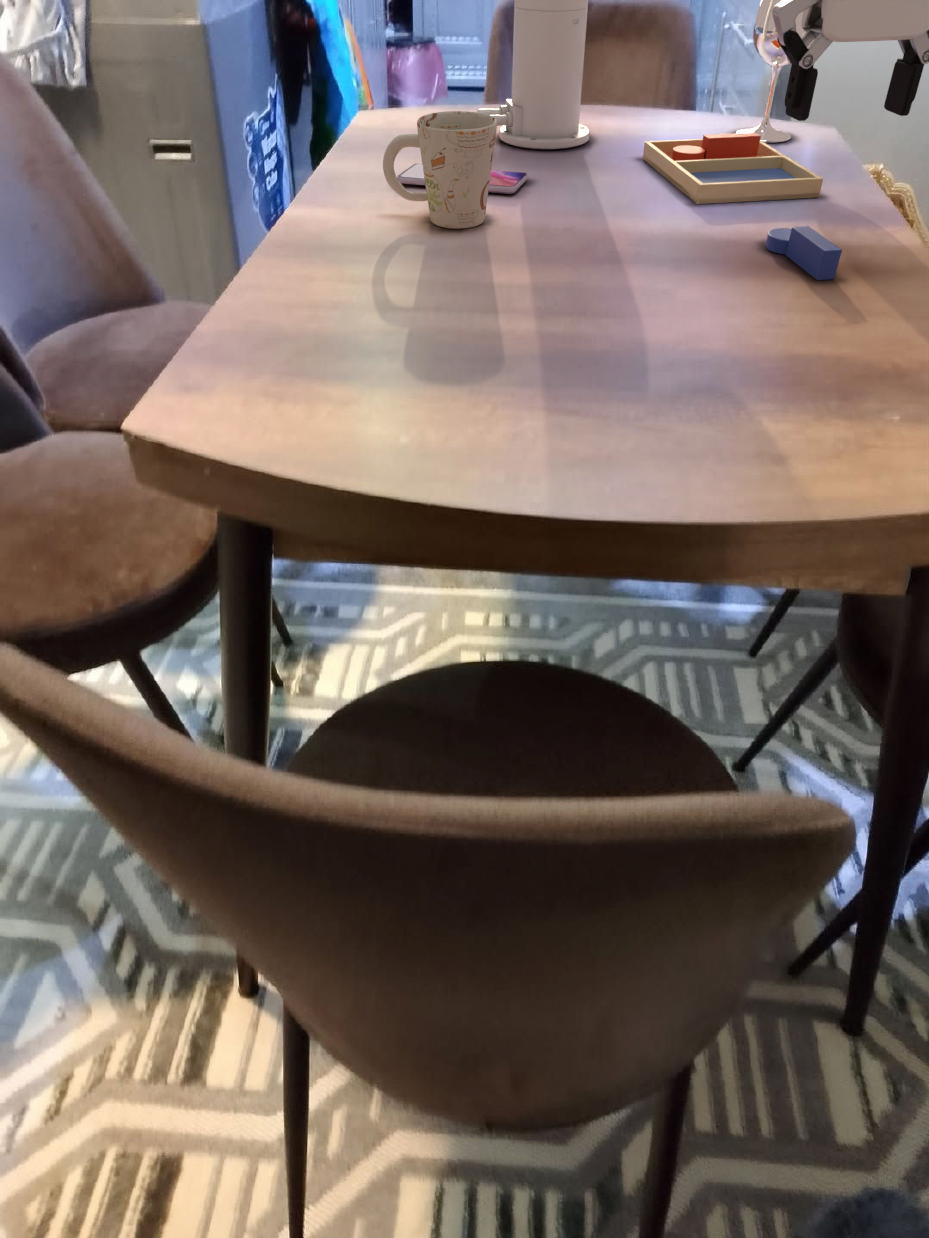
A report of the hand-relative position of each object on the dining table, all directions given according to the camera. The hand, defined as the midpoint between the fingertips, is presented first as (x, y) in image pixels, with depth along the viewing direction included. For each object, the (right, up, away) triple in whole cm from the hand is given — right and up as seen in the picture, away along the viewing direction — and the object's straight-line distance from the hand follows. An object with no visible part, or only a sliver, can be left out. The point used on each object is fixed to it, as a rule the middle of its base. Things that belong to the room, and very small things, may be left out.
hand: (846, 115), depth 82 cm
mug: (-37, -1, +20) cm, 42 cm away
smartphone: (-35, +8, +30) cm, 46 cm away
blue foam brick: (-1, -9, +10) cm, 14 cm away
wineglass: (+8, +23, +47) cm, 53 cm away
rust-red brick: (-2, +14, +35) cm, 38 cm away
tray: (-2, +10, +32) cm, 34 cm away
